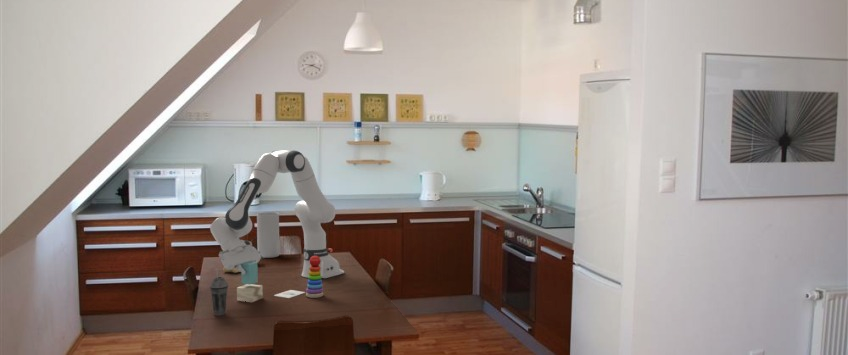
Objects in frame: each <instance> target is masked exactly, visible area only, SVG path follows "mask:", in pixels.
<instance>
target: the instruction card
mask: <svg viewBox="0 0 848 355" xmlns="http://www.w3.org/2000/svg"><path fill="white" fill-rule="evenodd" d="M306 292H307V291H306ZM306 292H305V291H299V290H294V289H289V290H286V291H283V292H280V293H276V294H274V295H273V297H279V298H285V299H290V298H294V297H297V296H299V295H302V294H306Z"/></svg>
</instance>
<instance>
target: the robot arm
mask: <svg viewBox="0 0 848 355" xmlns="http://www.w3.org/2000/svg"><path fill="white" fill-rule="evenodd" d="M278 173H279V174H280V173H283V174H286V173H290V174H291V178H292V182H293V184H294V187H295V191H296V193H297V195H298V196H299V198H301V199H302V200H299V201H298V202H297V203H296V204H295V205H294V214H295V216H296V217H297V218H298V220H299V222H300V224H301V228H302V232H303V239H304V240H303V244H304V248H303V265H302V266H303V267H302V271H301V276H302V277H303V278H306V279H309V278H308V276H309V271H310V269H309V268H310V266H311V264H310V262H309V261H310V258H311V257H312V256H318V257H319V258H320V260H321V262H320V264H319V266H320V268H321V269H320V270H319V271H320V272H321V274H320V275H321V279H327V278H332V277H335V276H339V275H342V274H345V271H344V270H343V269H341V267H340V263H339V261H338V260H337V259H336V258H334V257H333V256H332V255H330V253H333V248H331V247H330V248H327V237H326V236H327V233H326V231H325V230H324V228H322V226H321V224H326V223H330V222H332V221H333V220H334V219H335V217H336V207H335V206H334V205H333V204H332V203H331V202H330V201H329V200H328V199H327V197H325V195H324V194H323V192H322V190H321V189H320V187H319V184H318V182H317V178H316V176H315V173H314V170H313V168H312V165H311V163H310V162H309V160H308V158H307V157H306V156H304V154H303V153H302V152H300V151H299V150H290V149H289V150H288V149H283V150H273V151H270V152H267V153H264V154H262V155H261V156H260V158H258V160H257V161H256V163H255V165H254V166H253V169H252V171H251V173H250V175H249V177H248V180H247V182H246V184H245V186H244V188H242V190H241V193H240V195H239V196H238V198H237V199H236V201H235V203H234V204H233V205H232V206H231V207H230V208H229V209H228V210H227V211H226V213H225V217H222V216H219V217H216V218H215V219H214V220H213V221H212V222H211V224H210V228H209V229H210V230H209V231H210V233H211V234H212V237H213V238H214V240H215V242H217V243H218V244H219V245H220V248H221V250H220V251H219V253H218V257H219V258H220V261H221V263H222V265H223V268H224V267H225V268H226V269H227V270H231V269H235V268H236V269H237V270H238V271H240V272H239V273H242V274H243V275H245V274H246V273H247V271H246V269H243V268H242V267H241V264H243V263H247V262H256V263H257V264H258V263H259V262H260V260H261V256H260V254H259V253H258V251H257V250H258V249H257V248H256V247H255V246H253V244H252V241H249V240H243V239H241V238H243V237H245V236H246V235H248V234H250V232H251V231H252V230H253V221H252V219H251V217H250V216H249V215H250V214H249V210H250V207H251V205H252V203H253V202H254V200H255V198H256V196H257V195H259V194H264V193H267V192H268V191H269V190H270V189H271V187H272V185H273V183H274V181H275V180H276V176H277V174H278ZM256 249H257V250H256Z"/></svg>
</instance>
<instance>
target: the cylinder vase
mask: <svg viewBox="0 0 848 355" xmlns="http://www.w3.org/2000/svg"><path fill="white" fill-rule="evenodd" d="M256 238H257V242H256V243H257V244H256V245H257V248H256V249H257V250H258V251H259V253H260V254H261V256H262V257H264V259H271V258H277V257H279V256H280V213H279V212H275V211H271V212H270V211H269V212H268V211H265V212H258V213H257V214H256Z"/></svg>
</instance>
